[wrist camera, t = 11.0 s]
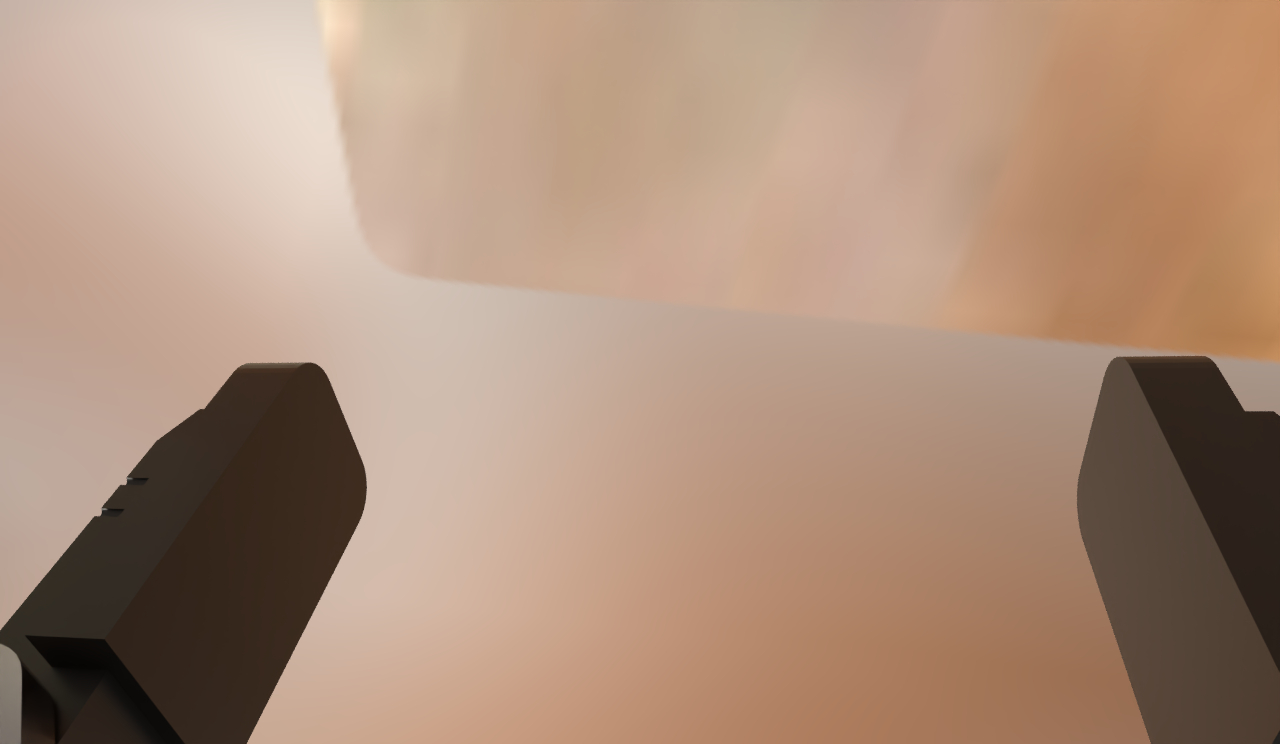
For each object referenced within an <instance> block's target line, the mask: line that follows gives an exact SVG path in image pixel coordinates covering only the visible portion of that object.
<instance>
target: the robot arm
mask: <svg viewBox="0 0 1280 744" xmlns="http://www.w3.org/2000/svg"><path fill="white" fill-rule="evenodd" d="M366 489H367V485H366V474H365V468H364V465H363V462H362V460H361V457H360V455H359V452H358V450H357V447H356V445H355V442H354V440H353V437H352V435H351V432H350V430H349V428H348V425H347V423H346V420H345V418H344V415H343V413H342V410H341V408H340V405H339V403H338V401H337V398H336V396H335V393H334V391H333V388H332V386H331V383H330V381H329V379H328V377H327V375H326V373H325V372H324V370H323V369H322V368H321V367H320V366H318V365H317V364H314V363H248V364H244V365H242V366H240V367H239V368H237V370H235V371H234V372H233V374H232V375H231V376H230V377H229V379H228V380H227V381H226V382H225V384H224V385H223V386H222V387H221V389H220V390H219V391H218V393H217V394H216V395H215V396H214V397H213V399H212V400H211V401H210V403H209V404H208V405H207V406H206V408H205V409H200V410H198V411H197V412H195V413H194V414H193V415H191V416H190V417H189V418H187V419H186V420H185V421H183V422H182V423H180V424H179V425H178V426H176V427H175V428H174V429H172V430H171V431H170V432H168V433H167V434H165V435H164V436H163V437H161V438H160V439H159V440H157V441H156V442H155V444H154V445H153V446H152V448H151V449H150V450H149V451H148V452H147V453H146V455H145V456H144V457H143V458H142V459H141V461H140V462H139V463H138V464H137V465H136V467H135V468H134V469H133V470H132V472H131V473H130V474H129V475H128V476H127V484H126V485H120V486H119V487H118V489H117V490H116V491H115V492H114V493H113V495H112V496H111V497H110V498H109V499H108V501H107V502H106V503H105V504H104V505H103V507H102V508H101V509H102V514H101V516H98V517H97V516H95V517H94V518H93V519H92V520H91V521H90V523H89V524H88V525H87V526H86V527H85V528H84V530H83V531H82V532H81V533H80V535H79V536H78V537H77V538H76V539H75V541H74V542H73V543H72V544H71V545H70V547H69V548H68V549H67V550H66V552H65V553H64V554H63V555H62V557H61V558H60V559H59V560H58V561H57V563H56V564H55V565H54V566H53V567H52V569H51V570H50V571H49V572H48V573H47V575H46V576H45V577H44V578H43V579H42V581H41V582H40V583H39V584H38V586H37V587H36V588H35V589H34V590H33V592H32V593H31V594H30V595H29V596H28V598H27V599H26V600H25V601H24V603H23V604H22V605H21V606H20V607H19V609H18V610H17V611H16V612H15V613H14V615H13V616H12V617H11V618H10V619H9V621H8V622H7V623H6V624H5V625H4V627H3V628H2V629H1V630H0V744H247V742H248V740H249V738H250V736H251V734H252V732H253V730H254V728H255V726H256V724H257V722H258V720H259V718H260V716H261V714H262V712H263V710H264V708H265V706H266V704H267V702H268V700H269V698H270V696H271V694H272V693H273V691H274V689H275V686H276V685H277V683H278V680H279V679H280V676H281V675H282V673H283V671H284V669H285V667H286V665H287V663H288V661H289V659H290V657H291V655H292V653H293V651H294V649H295V647H296V645H297V643H298V641H299V639H300V637H301V635H302V633H303V632H304V630H305V628H306V626H307V624H308V621H309V620H310V618H311V616H312V614H313V612H314V610H315V608H316V606H317V604H318V602H319V600H320V598H321V596H322V594H323V592H324V590H325V588H326V586H327V584H328V582H329V580H330V578H331V576H332V574H333V573H334V571H335V568H336V567H337V564H338V563H339V560H340V559H341V557H342V555H343V553H344V551H345V549H346V547H347V545H348V543H349V541H350V539H351V537H352V535H353V533H354V531H355V529H356V527H357V525H358V523H359V521H360V519H361V516H362V514H363V510H364V506H365V501H366V491H367V490H366ZM1077 508H1078V519H1079V526H1080V531H1081V535H1082V539H1083V542H1084V545H1085V548H1086V551H1087V554H1088V557H1089V560H1090V563H1091V566H1092V569H1093V572H1094V575H1095V578H1096V581H1097V584H1098V587H1099V590H1100V593H1101V596H1102V599H1103V602H1104V604H1105V608H1106V611H1107V613H1108V616H1109V620H1110V623H1111V626H1112V629H1113V631H1114V635H1115V637H1116V640H1117V643H1118V646H1119V649H1120V652H1121V655H1122V658H1123V661H1124V664H1125V667H1126V670H1127V673H1128V676H1129V679H1130V682H1131V685H1132V688H1133V691H1134V694H1135V697H1136V700H1137V703H1138V706H1139V709H1140V712H1141V715H1142V718H1143V721H1144V724H1145V727H1146V730H1147V733H1148V736H1149V739H1150V742H1151V744H1280V416H1279V415H1278V414H1276V413H1275V412H1273V411H1272V412H1271V411H1268V412H1265V411H1264V412H1263V411H1259V412H1258V411H1257V412H1256V411H1255V412H1253V411H1251V412H1249V411H1244V409H1243V408H1242V406H1241V404H1240V403H1239V401H1238V399H1237V398H1236V396H1235V395H1234V393H1233V391H1232V390H1231V388H1230V386H1229V385H1228V383H1227V382H1226V380H1225V378H1224V377H1223V375H1222V373H1221V372H1220V370H1219V368H1218V367H1217V366H1216V364H1215V363H1214V362H1213V361H1212V360H1211V359H1210V358H1208V357H1206V356H1162V357H1161V356H1156V357H1116V358H1114V359H1113V360H1112V361H1111V362H1110V364H1109V365H1108V367H1107V370H1106V372H1105V376H1104V379H1103V383H1102V387H1101V391H1100V395H1099V399H1098V403H1097V407H1096V411H1095V414H1094V418H1093V422H1092V426H1091V430H1090V434H1089V438H1088V442H1087V446H1086V450H1085V454H1084V458H1083V462H1082V466H1081V469H1080V474H1079V479H1078V489H1077Z"/></svg>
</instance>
